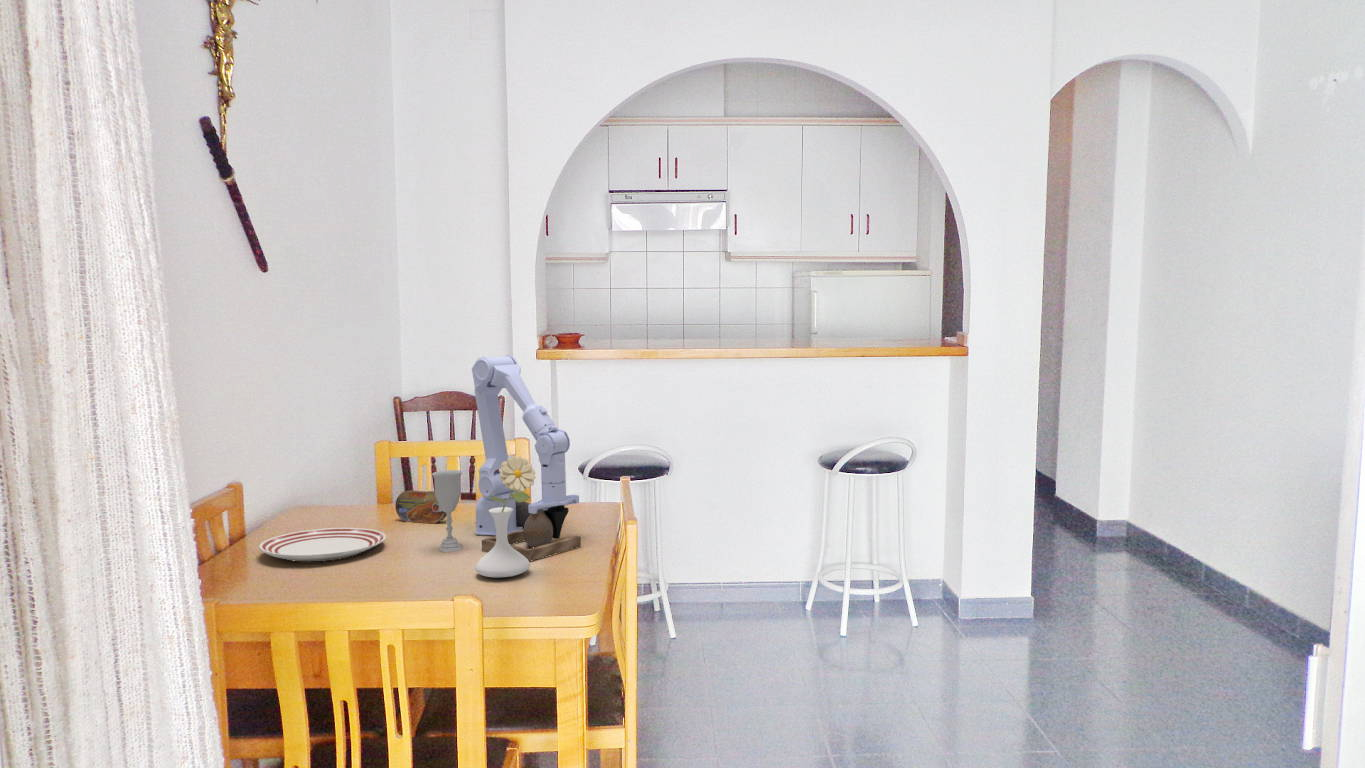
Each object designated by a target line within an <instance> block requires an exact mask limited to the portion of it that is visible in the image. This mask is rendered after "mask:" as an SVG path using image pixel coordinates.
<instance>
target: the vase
mask: <svg viewBox="0 0 1365 768" xmlns="http://www.w3.org/2000/svg"><path fill="white" fill-rule="evenodd" d="M522 530H523V533H524V539H525V541H524V542H525V543H526V544H527V545H528V547H530V548H531V547H534V548H535V547H539V546H542V545H546V544H550V543H552V541H553V538H552V537H553V526H552V523H551V520H550V519H549V518H548V517H547V515H546V514H545V513H544V511H543V509H542V510H538V511H537V513H536V514H532V513H531V514H530V516H529V517H528V519H527V520H526V522H525V525H524V528H523V529H522Z"/></svg>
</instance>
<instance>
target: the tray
mask: <svg viewBox="0 0 1365 768" xmlns="http://www.w3.org/2000/svg"><path fill="white" fill-rule="evenodd" d="M581 538H582V537H581V536H579V535H576V536H573V537H567V538H566V539H561V540H558V541H554V542H550V544H546V545H542V546H539V547H535V548H525V547H521V546H517V545H514V544H513V543H515V544H517V543H516V542H519V543H521V542H520V541H522V542H524V541H523V540H525V539H524V533H523V529H521V530H519V531H515V532H511V533H507V539H508V543H509V544H511V545H510V546H511V547H512V548H514V549H515V550H516V551H518V552H519V553H521V554H522V555H523V556H525V557H526V558H527V559H528V561H531V560H535V559H539V558H542V559H544V558H543V557H545V558H547V557H546V556H549V555H552V556H554V555H553V554H555V553H559V552H563V551H566V550H569V549H572V548H576V547H580V546H581V545H582V544H581V543H582V541H581V540H582V539H581ZM495 543H496V535H494V536H493V537H492V536H491V537H488V538H484V539H481V551H483V552H485V553H488V552H489V551H490V550H491V549H492V548H493V547H494V546H495ZM581 547H582V546H581ZM581 547H580V548H581ZM576 549H577V548H576ZM569 551H570V550H569ZM566 552H567V551H566ZM563 553H564V552H563ZM559 554H560V553H559ZM549 557H550V556H549ZM539 560H540V559H539ZM535 561H536V560H535Z"/></svg>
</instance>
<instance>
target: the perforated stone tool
mask: <svg viewBox="0 0 1365 768" xmlns="http://www.w3.org/2000/svg"><path fill="white" fill-rule="evenodd" d="M530 504H531V503H530V502H526V501H524V502H520V503H519V502H516V527H524V525H525V522H526V520H527V519H528V517H529V516H530V514H531V513H529V511H528V505H530Z"/></svg>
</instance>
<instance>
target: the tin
mask: <svg viewBox="0 0 1365 768" xmlns="http://www.w3.org/2000/svg"><path fill="white" fill-rule="evenodd" d="M394 507H395V511H396V514H397V516H398V517H399V518H400V520H402V521H403V522H406V523H414V524H415V523H419V524H437V523H439V522H442V521H443V520H444V519H446V518H447V513H446V512H443V511H442V509H441V507H440V505H439V503H438V501H437V499H436V496H435V490H404V491H403V492H401V493H400V494H399V495H398V496H397V498H396V499H395V506H394Z"/></svg>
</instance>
